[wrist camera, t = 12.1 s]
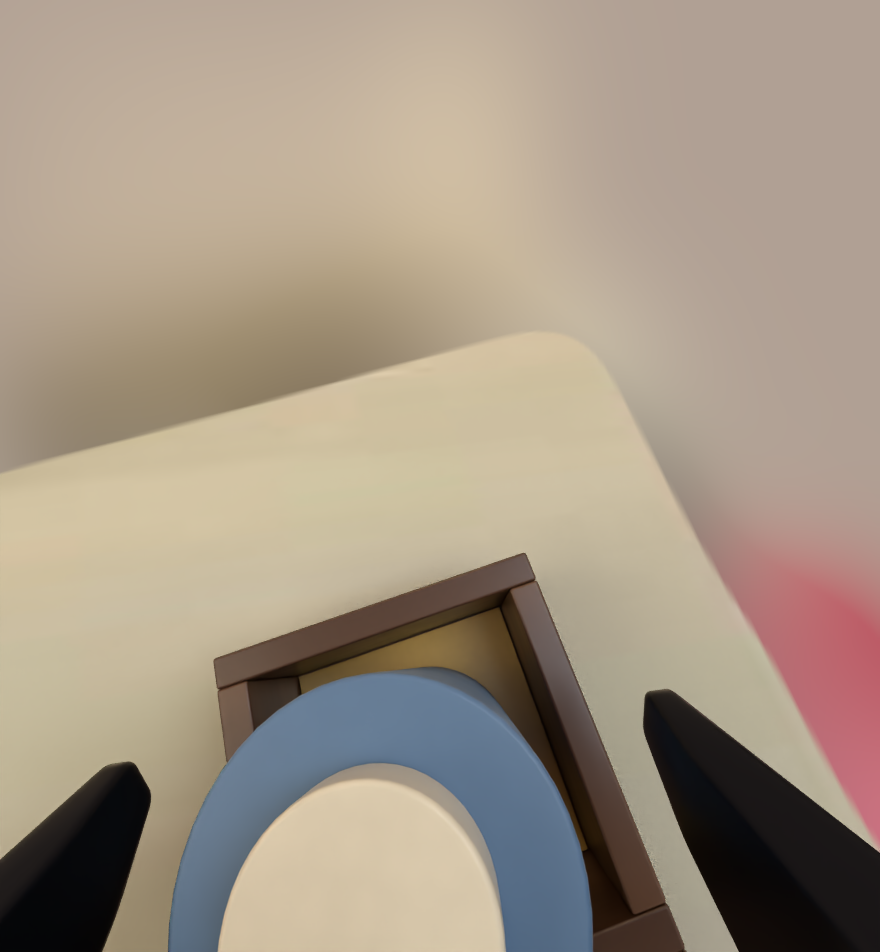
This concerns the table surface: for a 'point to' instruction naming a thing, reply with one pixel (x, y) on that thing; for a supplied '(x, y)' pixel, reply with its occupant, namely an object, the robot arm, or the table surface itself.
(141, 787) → the robot arm
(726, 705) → the table surface
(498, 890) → the bottle
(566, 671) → the organizer
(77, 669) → the table surface
